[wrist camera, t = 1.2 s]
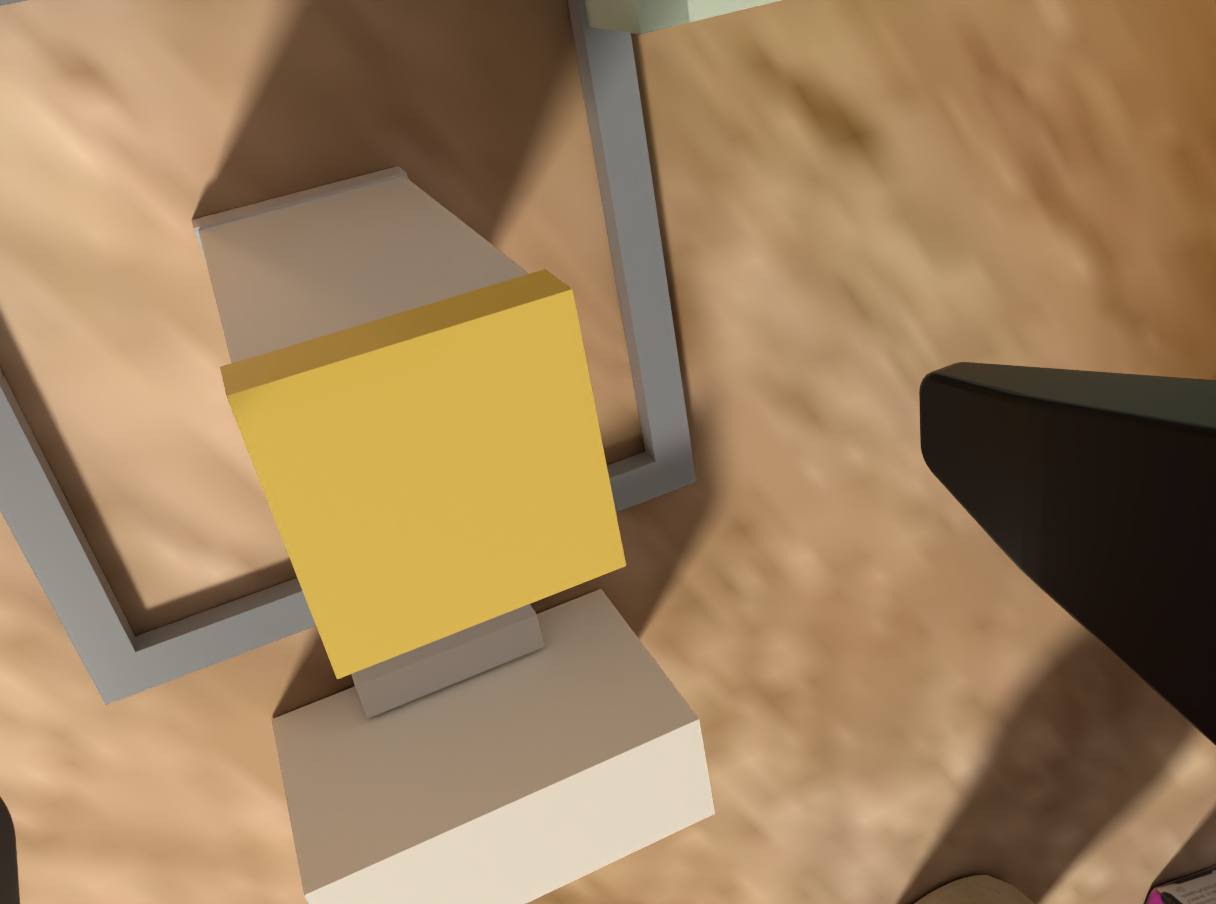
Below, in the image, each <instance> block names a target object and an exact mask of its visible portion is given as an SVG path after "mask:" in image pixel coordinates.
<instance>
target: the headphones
mask: <svg viewBox="0 0 1216 904" xmlns="http://www.w3.org/2000/svg"><path fill="white" fill-rule="evenodd" d="M21 1H26V0H0V5H6V4H11V3H16V2H21ZM568 6H569V12H570V18H571V24H572V29H573V35H574V41H575V47H576V53H577V58H578V64H579V70H580V76H581V82H582V87H583V93H584V99H585V105H586V111H587V116H588V122H589V128H590V134H591V140H592V145H593V151H594V157H595V163H596V169H597V174H598V180H599V186H600V192H601V198H602V204H603V209H604V215H605V221H606V227H607V233H608V238H609V244H610V250H611V256H612V262H613V267H614V273H615V279H616V285H617V291H618V296H619V302H620V308H621V314H622V320H623V325H624V331H625V337H626V343H627V349H628V354H629V360H630V366H631V372H632V378H633V383H634V389H635V395H636V401H637V407H638V412H639V418H640V424H641V430H642V436H643V441H644V447H645V452H643V453H640V454H637V455H635V456H632V457H629V458H626V459H624V460H621V461H618V462H615V463H613V464H610V465H607V470H608V475H609V480H610V485H611V490H612V495H613V500H614V505H615V511H616V512H619V511H622V510H624V509H627V508H630V507H632V506H635V505H638V504H640V503H643V502H646V501H648V500H651V499H654V498H656V497H659V496H662V495H664V494H667V493H670V492H672V491H675V490H677V489H680V488H683V487H685V486H688V485H691V484H693V483H696V475H695V468H694V461H693V455H692V448H691V441H690V434H689V427H688V421H687V414H686V407H685V400H684V393H683V386H682V380H681V373H680V366H679V359H678V352H677V346H676V339H675V332H674V325H673V318H672V311H671V305H670V298H669V291H668V284H667V277H666V271H665V264H664V257H663V250H662V243H661V236H660V230H659V223H658V216H657V209H656V202H655V195H654V189H653V182H652V175H651V168H650V161H649V155H648V148H647V141H646V134H645V127H644V120H643V114H642V107H641V100H640V93H639V86H638V80H637V73H636V66H635V59H634V52H633V45H632V39H631V33H628V32H621V31H614V30H607V29H599V28H592V27H589V24H588V18H587V12H586V6H585V0H568ZM0 511H1V513H2V515H3V517H4V518H5V520H6V522H7V524H8V526H9V528H10V530H11V531H12V533H13V535H14V537H15V539H16V541H17V542H18V544H19V546H20V548H21V550H22V552H23V553H24V555H25V557H26V559H27V561H28V563H29V564H30V566H31V568H32V570H33V572H34V574H35V575H36V577H37V579H38V581H39V583H40V585H41V587H42V588H43V590H44V592H45V594H46V596H47V598H48V599H49V601H50V603H51V605H52V607H53V609H54V610H55V612H56V614H57V616H58V618H59V620H60V621H61V623H62V625H63V627H64V629H65V631H66V633H67V634H68V636H69V638H70V640H71V642H72V644H73V645H74V647H75V649H76V651H77V653H78V655H79V656H80V658H81V660H82V662H83V664H84V666H85V667H86V669H87V671H88V673H89V675H90V677H91V678H92V680H93V682H94V684H95V686H96V688H97V690H98V691H99V693H100V695H101V697H102V699H103V701H104V702H105V704H106V705H107V704H109V703H112V702H115V701H117V700H120V699H123V698H125V697H128V696H131V695H133V694H136V693H139V692H141V691H144V690H146V689H149V688H152V687H154V686H157V685H160V684H162V683H165V682H168V681H170V680H173V679H176V678H178V677H181V676H184V675H186V674H189V673H192V672H194V671H197V670H200V669H202V668H205V667H208V666H210V665H213V664H215V663H218V662H221V661H223V660H226V659H229V658H231V657H234V656H237V655H239V654H242V653H245V652H247V651H250V650H253V649H255V648H258V647H261V646H263V645H266V644H269V643H271V642H274V641H277V640H279V639H282V638H285V637H287V636H290V635H292V634H295V633H298V632H300V631H303V630H306V629H308V628H311V627H314V626H316V624H315V622H314V619H313V616H312V614H311V611H310V609H309V606H308V604H307V601H306V598H305V596H304V593H303V591H302V588H301V586H300V583H299V580H298V578H295V579H292V580H290V581H287V582H284V583H281V584H278V585H276V586H273V587H270V588H267V589H265V590H262V591H259V592H256V593H254V594H251V595H248V596H245V597H243V598H240V599H237V600H234V601H232V602H229V603H226V604H223V605H221V606H218V607H215V608H212V609H209V610H207V611H204V612H201V613H198V614H196V615H193V616H190V617H187V618H185V619H182V620H179V621H176V622H174V623H171V624H168V625H165V626H163V627H160V628H157V629H154V630H151V631H149V632H146V633H143V634H140V635H138V636H135V635H134V633H133V631H132V629H131V627H130V625H129V623H128V621H127V619H126V617H125V615H124V613H123V611H122V609H121V607H120V605H119V603H118V601H117V599H116V597H115V595H114V593H113V591H112V589H111V587H110V585H109V583H108V581H107V579H106V577H105V575H104V573H103V571H102V569H101V567H100V565H99V563H98V561H97V559H96V557H95V555H94V553H93V551H92V549H91V547H90V545H89V543H88V541H87V540H86V538H85V536H84V534H83V532H82V530H81V528H80V526H79V524H78V522H77V520H76V518H75V516H74V514H73V512H72V510H71V508H70V506H69V504H68V502H67V500H66V498H65V496H64V494H63V492H62V490H61V488H60V486H59V484H58V482H57V480H56V478H55V476H54V474H53V472H52V470H51V468H50V466H49V464H48V462H47V460H46V458H45V456H44V454H43V452H42V450H41V448H40V446H39V444H38V442H37V440H36V438H35V436H34V434H33V432H32V430H31V428H30V426H29V424H28V422H27V420H26V418H25V416H24V414H23V412H22V410H21V408H20V406H19V404H18V402H17V400H16V398H15V396H14V394H13V392H12V390H11V388H10V386H9V384H8V382H7V380H6V379H5V377H4V375H3V373H2V371H1V369H0ZM351 675H352V678H353V681H354V685H355V686H354V687H352V688H349V689H347V690H344V691H342V692H339V693H337V694H334V695H332V696H329V697H327V698H324V699H321V700H319V701H316V702H314V703H311V704H309V705H306V706H304V707H301V708H299V709H296V710H294V711H291V712H289V713H286V714H284V715H281V716H279V717H276V718H274V719H272V725H273V730H274V735H275V741H276V746H277V751H278V757H279V762H280V768H281V773H282V778H283V784H284V789H285V794H286V800H287V805H288V810H289V816H290V821H291V827H292V832H293V837H294V843H295V848H296V853H297V859H298V864H299V869H300V875H301V880H302V886H303V891H304V896H305V898H306V900H307V902H308V904H526V903H528V902H530V901H532V900H534V899H536V898H539V897H541V896H543V895H545V894H547V893H549V892H551V891H553V890H555V889H557V888H560V887H562V886H564V885H566V884H568V883H570V882H572V881H574V880H576V879H578V878H581V877H583V876H585V875H587V874H589V873H591V872H593V871H595V870H597V869H600V868H602V867H604V866H606V865H608V864H610V863H612V862H614V861H616V860H618V859H621V858H623V857H625V856H627V855H629V854H631V853H633V852H635V851H637V850H639V849H642V848H644V847H646V846H648V845H650V844H652V843H654V842H656V841H658V840H660V839H663V838H665V837H667V836H669V835H671V834H673V833H675V832H677V831H679V830H681V829H684V828H686V827H688V826H690V825H692V824H694V823H696V822H698V821H700V820H702V819H705V818H707V817H709V816H711V815H713V814H715V811H714V805H713V799H712V793H711V787H710V781H709V775H708V769H707V763H706V757H705V751H704V745H703V739H702V733H701V727H700V721H699V718H698V717H697V716H696V714H695V713H694V712H693V710H692V709H691V708H690V706H689V705H688V704H687V702H686V701H685V700H684V698H683V697H682V696H681V694H680V693H679V692H678V690H677V689H676V688H675V686H674V685H673V684H672V682H671V681H670V680H669V678H668V677H667V676H666V674H665V673H664V672H663V670H662V669H661V668H660V666H659V665H658V664H657V662H656V661H655V660H654V658H653V657H652V656H651V654H650V653H649V652H648V650H647V649H646V648H645V646H644V645H643V644H642V642H641V641H640V640H639V638H638V637H637V636H636V634H635V633H634V632H633V630H632V629H631V628H630V626H629V625H628V624H627V622H626V621H625V620H624V618H623V617H622V616H621V614H620V613H619V612H618V610H617V609H616V608H615V606H614V605H613V604H612V602H611V601H610V600H609V598H608V597H607V596H606V594H605V593H604V592H603V590H602V589H599V590H596V591H594V592H591V593H589V594H586V595H584V596H581V597H579V598H576V599H574V600H571V601H569V602H566V603H564V604H561V605H558V606H556V607H553V608H551V609H548V610H546V611H543V612H541V613H538V614H536V613H535V611H534V610H533V608H532V606H531V605H530V604H528V605H526V606H523V607H520V608H518V609H515V610H513V611H510V612H508V613H505V614H503V615H500V616H498V617H495V618H492V619H490V620H487V621H485V622H482V623H480V624H477V625H475V626H472V627H470V628H467V629H464V630H462V631H459V632H457V633H454V634H452V635H449V636H447V637H444V638H442V639H439V640H436V641H434V642H431V643H429V644H426V645H424V646H421V647H419V648H416V649H414V650H411V651H408V652H406V653H403V654H401V655H398V656H396V657H393V658H391V659H388V660H386V661H383V662H380V663H378V664H375V665H373V666H370V667H368V668H365V669H363V670H360V671H357V672H355V673H352V674H351Z"/></svg>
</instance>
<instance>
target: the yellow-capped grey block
mask: <svg viewBox="0 0 1216 904" xmlns="http://www.w3.org/2000/svg"><path fill="white" fill-rule="evenodd" d="M192 223H193V228H194V230H195V233H196V236H197V238H198V241H199V244H200V247H201V249H202V252H203V255H204V257H205V260H206V263H207V267H208V271H209V275H210V279H211V283H212V287H213V291H214V295H215V299H216V303H217V307H218V311H219V315H220V319H221V323H222V327H223V331H224V335H225V339H226V343H227V347H228V351H229V355H230V359H231V363H232V364H228V365H225V366H222V367H220V369H221V373H222V378H223V382H224V387H225V391H226V396H227V398H228V401H229V404H230V406H231V409H232V411H233V414H234V416H235V419H236V422H237V424H238V427H239V429H240V432H241V434H242V437H243V439H244V442H245V445H246V447H247V450H248V452H249V455H250V457H251V460H252V463H253V465H254V468H255V470H256V473H257V475H258V478H259V481H260V483H261V486H262V488H263V491H264V493H265V496H266V498H267V501H268V504H269V506H270V509H271V511H272V514H273V516H274V519H275V522H276V524H277V527H278V529H279V532H280V534H281V537H282V539H283V542H284V545H285V547H286V550H287V552H288V555H289V557H290V560H291V563H292V565H293V568H294V570H295V573H296V575H297V578H298V580H299V583H300V586H301V588H302V591H303V593H304V596H305V598H306V601H307V604H308V606H309V609H310V611H311V614H312V616H313V619H314V622H315V624H316V627H317V629H318V632H319V634H320V637H321V639H322V642H323V645H324V647H325V650H326V652H327V655H328V657H329V660H330V663H331V665H332V668H333V670H334V673H335V675H336V678H337V679H340V678H342V677H345V676H347V675H350V674H352V673H355V672H357V671H360V670H363V669H365V668H368V667H370V666H373V665H375V664H378V663H380V662H383V661H386V660H388V659H391V658H393V657H396V656H398V655H401V654H403V653H406V652H408V651H411V650H414V649H416V648H419V647H421V646H424V645H426V644H429V643H431V642H434V641H436V640H439V639H442V638H444V637H447V636H449V635H452V634H454V633H457V632H459V631H462V630H464V629H467V628H470V627H472V626H475V625H477V624H480V623H482V622H485V621H487V620H490V619H492V618H495V617H498V616H500V615H503V614H505V613H508V612H510V611H513V610H515V609H518V608H520V607H523V606H526V605H528V604H531V603H533V602H536V601H538V600H541V599H543V598H546V597H548V596H551V595H554V594H556V593H559V592H561V591H564V590H566V589H569V588H571V587H574V586H576V585H579V584H582V583H584V582H587V581H589V580H592V579H594V578H597V577H599V576H602V575H604V574H607V573H610V572H612V571H615V570H617V569H620V568H622V567H625V566H626V562H625V557H624V552H623V546H622V541H621V536H620V531H619V526H618V521H617V516H616V511H615V505H614V500H613V495H612V490H611V485H610V480H609V475H608V470H607V464H606V459H605V454H604V449H603V444H602V439H601V434H600V429H599V423H598V418H597V413H596V408H595V403H594V398H593V393H592V388H591V382H590V377H589V372H588V367H587V362H586V357H585V352H584V347H583V341H582V336H581V331H580V326H579V321H578V316H577V311H576V306H575V300H574V295H573V290H572V289H571V288H570V287H569V286H567V285H566V284H565V283H563V282H562V281H561V280H559V279H558V278H557V277H555V276H554V275H552V274H551V273H550V272H548V271H547V270H546V269H544V270H541V271H537V272H534V273H531V274H529V273H528V272H527V271H525V270H524V269H523V268H521V267H520V266H519V265H518V264H516V263H515V262H514V261H512V260H511V259H510V258H509V257H507V256H506V255H505V254H503V253H502V252H501V251H500V250H498V249H497V248H496V247H494V246H493V245H492V244H491V243H489V242H488V241H487V240H486V239H484V238H483V237H482V236H480V235H479V234H478V233H477V232H475V231H474V230H473V229H471V228H470V227H469V226H468V225H466V224H465V223H464V222H462V221H461V220H460V219H459V218H457V217H456V216H455V215H454V214H452V213H451V212H450V211H448V210H447V209H446V208H445V207H443V206H442V205H441V204H439V203H438V202H437V201H436V200H434V199H433V198H432V197H430V196H429V195H428V194H427V193H425V192H424V191H423V190H421V189H420V188H419V187H418V186H416V185H415V184H414V183H413V182H411V181H410V180H409V179H408V176H407V172H406V171H404V170H403V169H402V168H400V167H399V166H396V167H392V168H388V169H384V170H380V171H377V172H373V173H369V174H365V175H361V176H357V177H354V178H350V179H346V180H342V181H338V182H335V183H331V184H327V185H323V186H319V187H315V188H312V189H308V190H304V191H300V192H296V193H292V194H289V195H285V196H281V197H277V198H273V199H269V200H266V201H262V202H258V203H254V204H250V205H247V206H243V207H239V208H235V209H231V210H227V211H224V212H220V213H216V214H212V215H208V216H204V217H201V218H197V219H193V220H192Z"/></svg>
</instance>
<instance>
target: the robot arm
mask: <svg viewBox="0 0 1216 904" xmlns="http://www.w3.org/2000/svg"><path fill="white" fill-rule="evenodd" d="M919 395H920V437H921V450H922V454H923V457H924V460H925V462H926V464H927V466H928V467H929V469H930V470H931V472H932V473H933V474H934V475H935V476H936V477H937V478H938V479H939V481H940V482H941V483H942V484H943V485H944V486H945V487H946V488H947V489H948V490H949V492H950V493H951V494H952V495H953V496H954V497H955V498H956V499H957V500H958V502H959V503H960V504H961V505H962V506H963V507H964V508H965V509H966V510H967V512H968V513H969V514H970V515H971V516H972V517H973V518H974V519H975V520H976V521H977V523H978V524H979V525H980V526H981V527H982V528H983V529H984V530H985V531H986V533H987V534H988V535H989V536H990V537H991V538H992V539H993V540H994V541H995V543H996V544H997V545H998V546H999V547H1000V548H1001V549H1002V550H1003V551H1004V552H1005V554H1006V555H1007V556H1008V557H1009V558H1010V559H1011V560H1012V561H1013V562H1014V563H1015V564H1016V565H1017V566H1018V567H1019V568H1020V569H1021V570H1022V571H1023V572H1024V573H1025V574H1026V575H1027V576H1028V577H1029V578H1030V579H1031V580H1032V581H1033V582H1034V583H1035V584H1037V585H1038V586H1039V587H1040V588H1041V589H1042V590H1043V591H1044V592H1045V593H1046V594H1048V595H1049V596H1050V597H1051V598H1052V599H1053V600H1054V601H1055V602H1056V603H1058V604H1059V605H1060V606H1061V607H1062V608H1063V609H1064V610H1065V611H1067V612H1068V613H1069V614H1070V615H1071V616H1072V617H1073V618H1074V619H1075V620H1077V621H1078V622H1079V623H1080V624H1081V625H1082V626H1083V627H1084V628H1085V629H1087V630H1088V631H1089V632H1090V633H1091V634H1092V635H1093V636H1094V637H1095V638H1097V639H1098V640H1099V641H1100V642H1101V643H1102V644H1103V645H1104V646H1105V647H1107V648H1108V649H1109V650H1110V651H1111V652H1112V653H1113V654H1114V655H1115V656H1117V657H1118V658H1119V659H1120V660H1121V661H1122V662H1123V663H1124V664H1125V665H1127V666H1128V667H1129V668H1130V669H1131V670H1132V671H1133V672H1134V673H1136V674H1137V675H1138V676H1139V677H1140V678H1141V679H1142V680H1143V681H1144V682H1146V683H1147V684H1148V685H1149V686H1150V687H1151V688H1152V689H1153V690H1154V691H1156V692H1157V693H1158V694H1159V695H1160V696H1161V697H1162V698H1163V699H1164V700H1166V701H1167V702H1168V703H1169V704H1170V705H1171V706H1172V707H1173V708H1174V709H1176V710H1177V711H1178V712H1179V713H1180V714H1181V715H1182V716H1183V717H1184V718H1186V719H1187V720H1188V721H1189V722H1190V723H1191V724H1192V725H1193V726H1195V727H1196V728H1197V729H1198V730H1199V731H1200V732H1201V733H1202V734H1203V735H1205V736H1206V737H1207V738H1208V739H1209V740H1210V741H1211V742H1212V743H1213V744H1215V745H1216V380H1203V379H1190V378H1176V377H1162V376H1148V375H1135V374H1121V373H1107V372H1094V371H1080V370H1066V369H1052V368H1039V367H1025V366H1011V365H997V364H984V363H970V362H959V363H955V364H952V365H949V366H946V367H944V368H941V369H938V370H936V371H933V372H931V373H929V374H927V375H926V376H925V377H924V378H923V380H922V382H921V385H920V392H919ZM0 904H20V895H19V880H18V865H17V850H16V836H15V829H14V825H13V821H12V818H11V815H10V813H9V811H8V808H7V806H6V805H5V803H4V801H3V800H2V798H1V797H0Z"/></svg>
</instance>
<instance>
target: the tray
mask: <svg viewBox="0 0 1216 904" xmlns="http://www.w3.org/2000/svg"><path fill="white" fill-rule="evenodd" d="M776 1H780V0H585V6H586V12H587V18H588V24H589V27H592V28H599V29H607V30H614V31H621V32H628V33H635V34H644V33H648V32H652V31H656V30H660V29H665V28H669V27H673V26H677V25H681V24H685V23H689V22H694V21H698V20H702V19H706V18H710V17H714V16H718V15H722V14H727V13H731V12H735V11H739V10H743V9H747V8H751V7H756V6H760V5H764V4H768V3H772V2H776Z"/></svg>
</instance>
